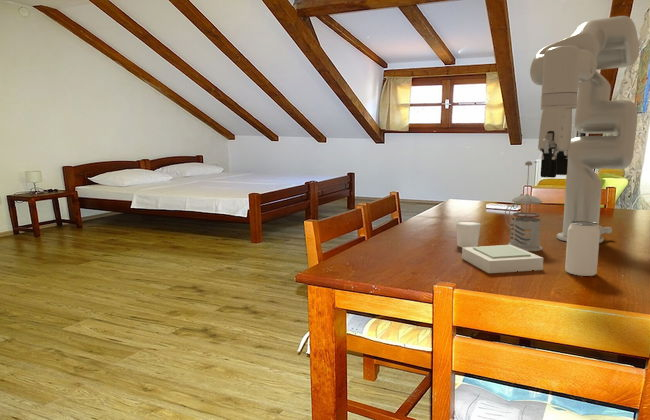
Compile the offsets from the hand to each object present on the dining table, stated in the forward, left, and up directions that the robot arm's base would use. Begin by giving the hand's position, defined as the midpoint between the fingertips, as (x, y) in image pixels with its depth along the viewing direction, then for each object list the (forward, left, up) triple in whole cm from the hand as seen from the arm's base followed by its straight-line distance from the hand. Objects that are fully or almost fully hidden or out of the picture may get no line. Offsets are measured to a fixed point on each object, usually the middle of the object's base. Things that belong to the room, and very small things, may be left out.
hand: (554, 176), depth 108 cm
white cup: (+9, -25, -23) cm, 35 cm away
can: (-4, +6, -23) cm, 24 cm away
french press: (-6, -21, -23) cm, 32 cm away
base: (+10, -5, -23) cm, 25 cm away
